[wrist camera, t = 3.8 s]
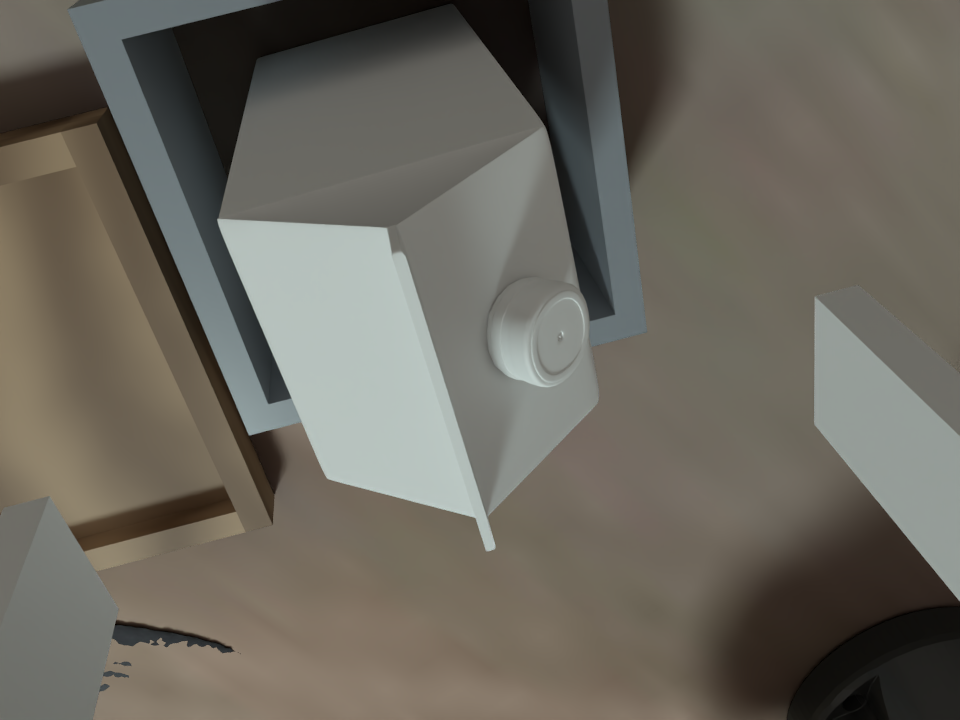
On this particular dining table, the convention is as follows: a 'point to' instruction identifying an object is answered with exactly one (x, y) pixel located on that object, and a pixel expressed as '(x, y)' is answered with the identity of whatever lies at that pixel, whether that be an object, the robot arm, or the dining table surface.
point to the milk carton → (411, 262)
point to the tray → (109, 359)
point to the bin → (202, 179)
